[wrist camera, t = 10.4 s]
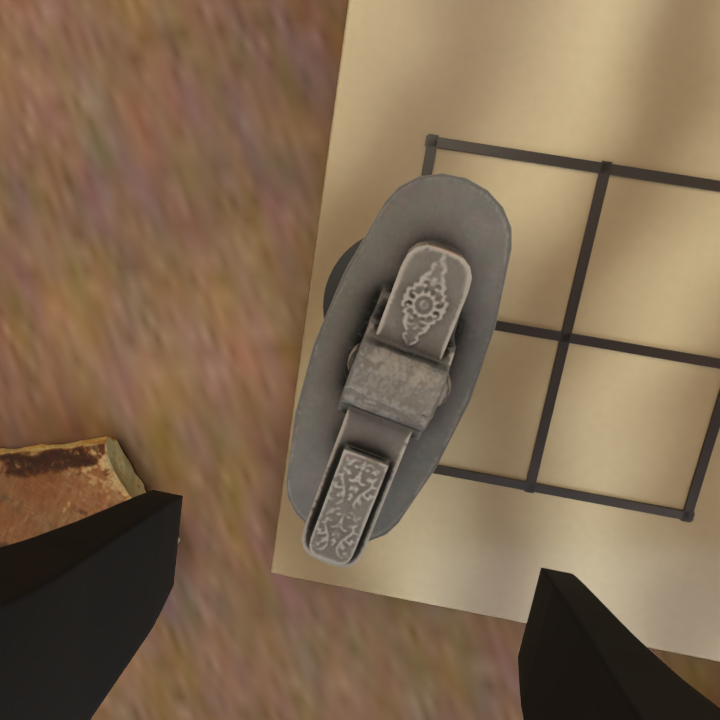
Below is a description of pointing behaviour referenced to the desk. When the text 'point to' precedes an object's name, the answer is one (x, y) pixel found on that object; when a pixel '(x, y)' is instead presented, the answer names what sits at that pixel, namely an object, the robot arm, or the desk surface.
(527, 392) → the grid board
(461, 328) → the lighter
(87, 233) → the desk surface
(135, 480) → the shard
